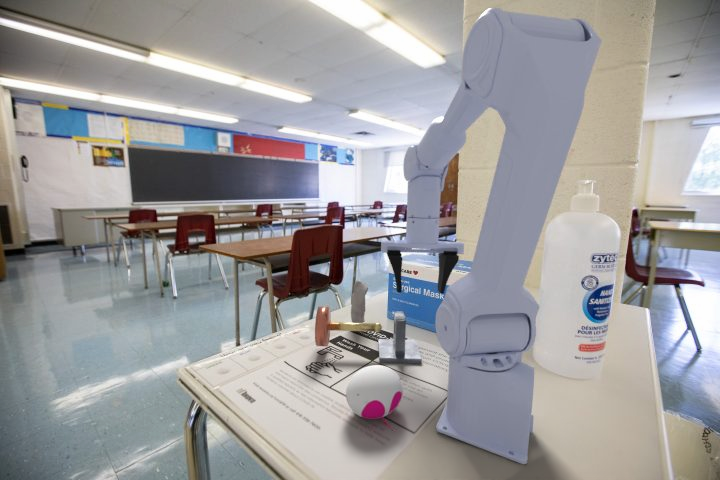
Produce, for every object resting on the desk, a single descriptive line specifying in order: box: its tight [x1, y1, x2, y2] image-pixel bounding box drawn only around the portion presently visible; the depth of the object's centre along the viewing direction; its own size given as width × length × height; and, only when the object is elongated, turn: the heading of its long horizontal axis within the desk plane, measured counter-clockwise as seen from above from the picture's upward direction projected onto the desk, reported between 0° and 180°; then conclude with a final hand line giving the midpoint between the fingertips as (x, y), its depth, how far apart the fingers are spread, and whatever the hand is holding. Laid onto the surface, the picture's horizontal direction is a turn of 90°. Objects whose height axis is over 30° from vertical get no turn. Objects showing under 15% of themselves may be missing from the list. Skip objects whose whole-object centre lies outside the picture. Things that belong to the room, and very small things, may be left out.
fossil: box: [350, 280, 369, 323], centre depth 66 cm, size 6×4×10 cm, turn 169°
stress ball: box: [345, 364, 404, 431], centre depth 39 cm, size 8×8×7 cm
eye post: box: [377, 310, 423, 364], centre depth 54 cm, size 7×7×7 cm
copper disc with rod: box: [314, 306, 383, 347], centre depth 54 cm, size 11×7×7 cm, turn 88°
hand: (419, 291), depth 56 cm, fingers open, 7 cm apart
